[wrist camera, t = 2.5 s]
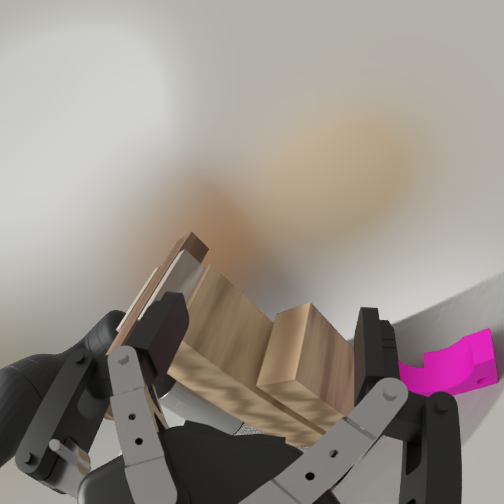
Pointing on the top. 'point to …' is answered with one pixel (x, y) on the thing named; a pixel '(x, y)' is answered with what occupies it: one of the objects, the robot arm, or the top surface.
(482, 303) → the top surface
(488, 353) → the toy block
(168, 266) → the walnut bar
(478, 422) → the top surface
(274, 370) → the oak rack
